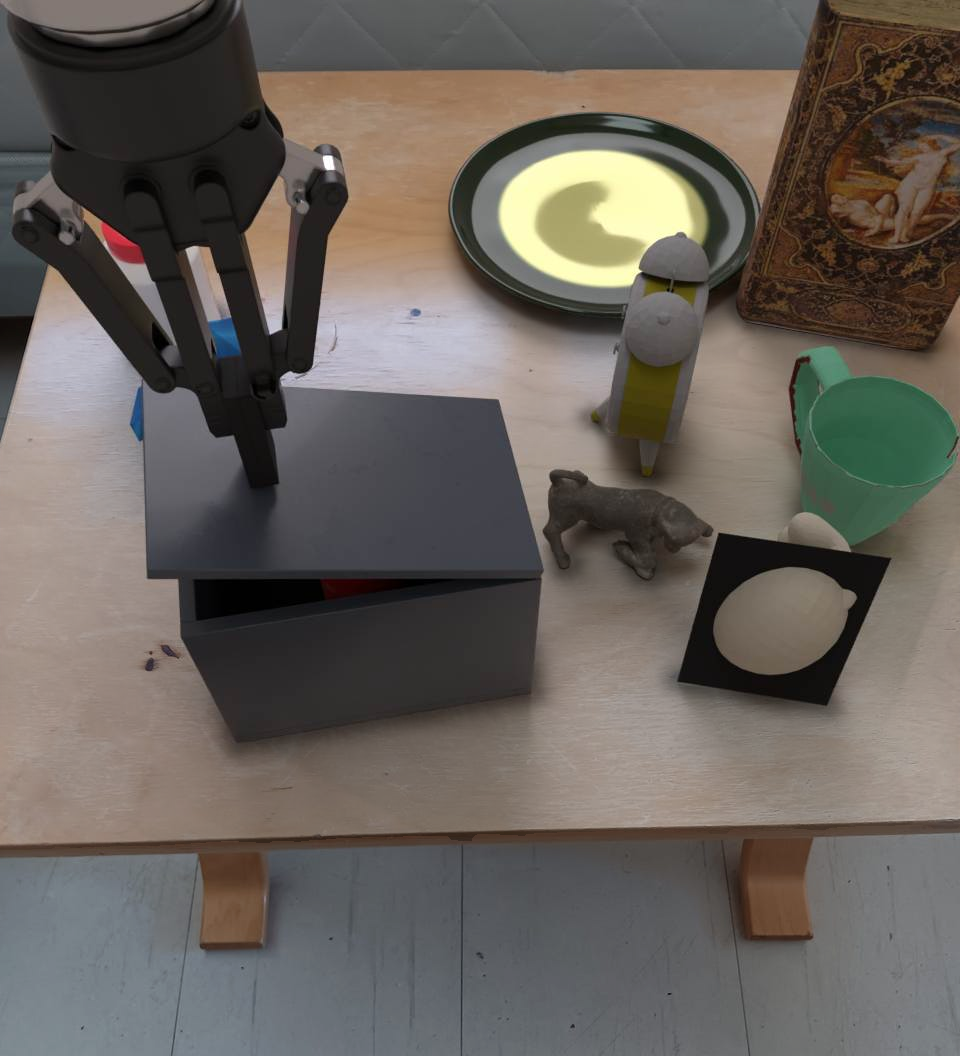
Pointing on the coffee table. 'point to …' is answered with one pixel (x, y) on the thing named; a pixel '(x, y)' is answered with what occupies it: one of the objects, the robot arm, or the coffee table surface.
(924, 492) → the mug
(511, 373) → the coffee table surface
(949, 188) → the book
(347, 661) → the dark grey storage box
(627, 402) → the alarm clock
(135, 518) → the coffee table surface
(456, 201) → the plate
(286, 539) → the dark grey box lid
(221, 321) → the crystal
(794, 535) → the decorative object
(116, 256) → the pill bottle
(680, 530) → the dog figurine
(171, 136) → the robot arm
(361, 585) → the beverage can
